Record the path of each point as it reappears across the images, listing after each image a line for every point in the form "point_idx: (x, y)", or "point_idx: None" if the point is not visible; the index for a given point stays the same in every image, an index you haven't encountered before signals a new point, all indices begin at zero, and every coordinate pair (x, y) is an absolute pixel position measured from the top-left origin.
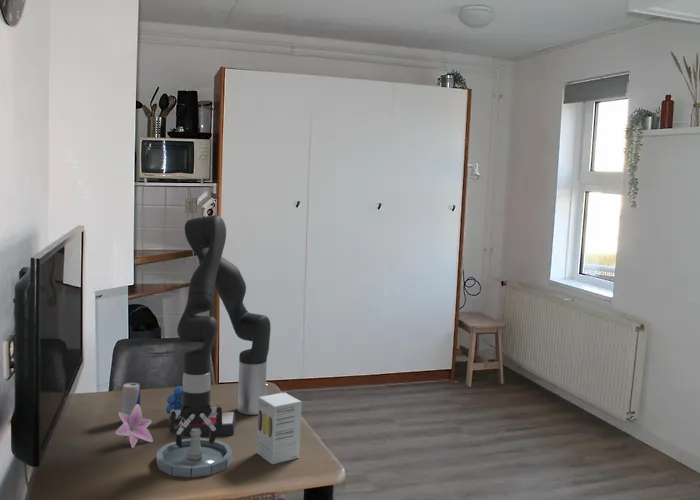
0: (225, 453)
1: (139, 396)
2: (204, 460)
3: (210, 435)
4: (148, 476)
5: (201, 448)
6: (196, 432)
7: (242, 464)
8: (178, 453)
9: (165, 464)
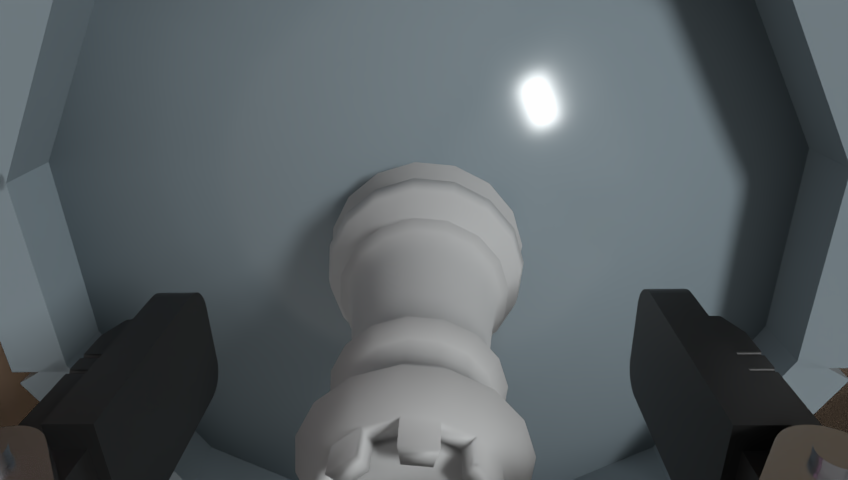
0: (788, 231)
1: None
2: (508, 338)
3: (674, 470)
4: (6, 415)
5: (501, 312)
6: None
7: (842, 410)
8: (239, 85)
9: None
